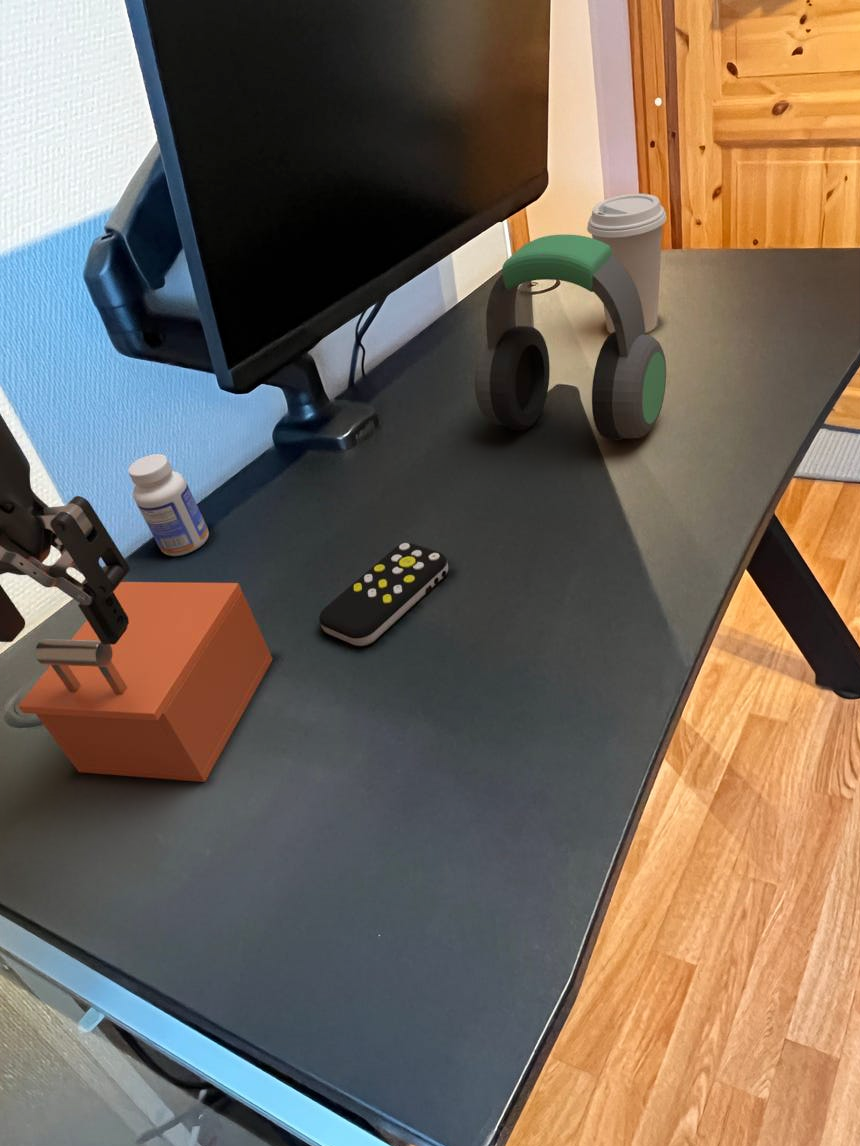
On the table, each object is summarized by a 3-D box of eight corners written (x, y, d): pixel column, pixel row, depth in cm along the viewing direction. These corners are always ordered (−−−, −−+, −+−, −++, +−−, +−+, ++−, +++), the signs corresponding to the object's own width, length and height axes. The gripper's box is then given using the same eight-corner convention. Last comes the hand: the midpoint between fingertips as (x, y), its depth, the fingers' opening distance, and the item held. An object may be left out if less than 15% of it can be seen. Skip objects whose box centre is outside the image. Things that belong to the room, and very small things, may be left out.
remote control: (316, 631, 78) (309, 614, 77) (407, 552, 85) (402, 536, 83) (365, 653, 75) (359, 636, 73) (456, 569, 81) (452, 552, 80)
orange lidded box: (205, 782, 67) (163, 713, 62) (78, 772, 70) (29, 705, 65) (273, 659, 76) (242, 590, 71) (159, 655, 79) (121, 589, 74)
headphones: (672, 410, 96) (668, 221, 83) (638, 462, 90) (627, 265, 77) (519, 397, 105) (493, 223, 92) (477, 444, 98) (443, 263, 85)
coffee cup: (589, 319, 118) (578, 202, 108) (658, 305, 118) (654, 186, 108) (604, 348, 111) (594, 224, 101) (678, 332, 111) (675, 207, 101)
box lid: (158, 721, 61) (124, 666, 57) (22, 713, 64) (-18, 660, 61) (241, 590, 71) (217, 536, 68) (121, 588, 74) (92, 537, 71)
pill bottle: (189, 523, 96) (152, 445, 90) (220, 534, 93) (184, 454, 87) (150, 550, 93) (109, 472, 87) (181, 562, 90) (142, 483, 84)
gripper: (66, 385, 50) (179, 601, 61) (-125, 399, 54) (12, 599, 65) (-14, 455, 45) (125, 677, 55) (-219, 464, 49) (-53, 670, 59)
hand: (64, 635), depth 60 cm, fingers open, 8 cm apart
